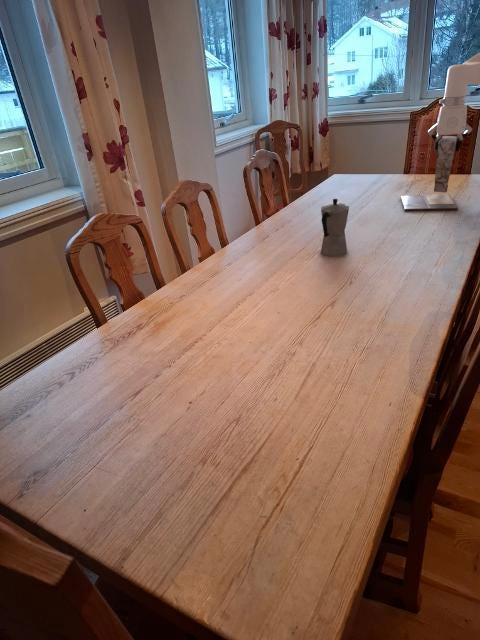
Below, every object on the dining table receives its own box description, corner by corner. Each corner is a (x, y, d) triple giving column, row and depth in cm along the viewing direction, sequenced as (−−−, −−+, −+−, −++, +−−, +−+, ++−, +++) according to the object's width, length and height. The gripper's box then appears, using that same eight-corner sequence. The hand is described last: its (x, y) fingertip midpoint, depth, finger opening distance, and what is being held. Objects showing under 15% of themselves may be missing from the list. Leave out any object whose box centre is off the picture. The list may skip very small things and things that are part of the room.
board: (448, 196, 188) (449, 194, 188) (457, 210, 172) (458, 207, 171) (400, 198, 193) (400, 195, 192) (404, 211, 176) (404, 208, 176)
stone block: (450, 193, 174) (458, 140, 164) (431, 192, 176) (438, 141, 166) (449, 184, 184) (457, 134, 174) (432, 184, 187) (438, 135, 177)
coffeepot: (329, 243, 153) (330, 192, 144) (354, 246, 148) (357, 194, 139) (309, 258, 143) (309, 205, 134) (335, 263, 138) (337, 208, 129)
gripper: (431, 104, 163) (424, 154, 172) (481, 101, 159) (472, 151, 168) (428, 102, 169) (422, 150, 178) (476, 99, 165) (468, 148, 174)
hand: (446, 150), depth 173 cm, fingers closed on stone block, 6 cm apart
